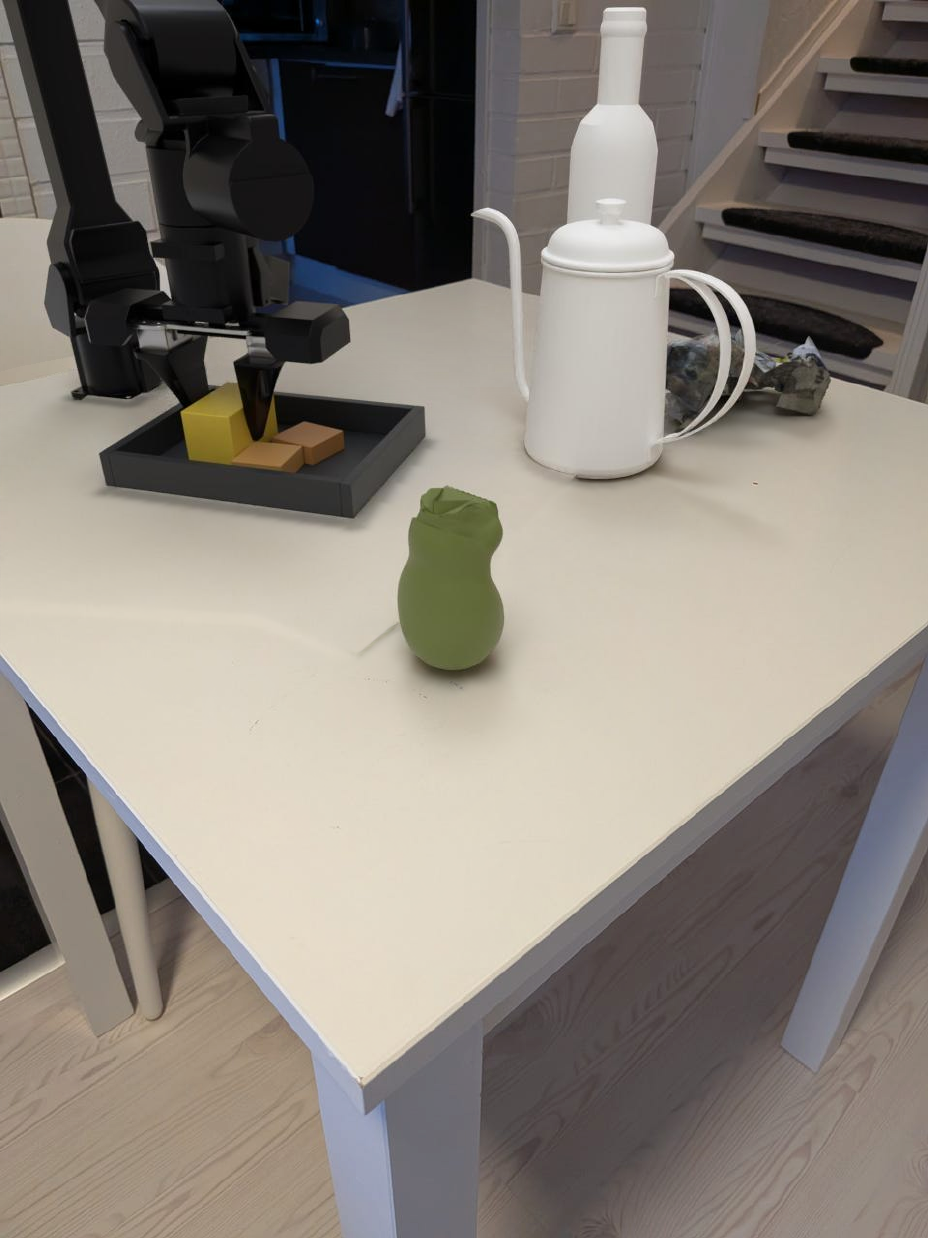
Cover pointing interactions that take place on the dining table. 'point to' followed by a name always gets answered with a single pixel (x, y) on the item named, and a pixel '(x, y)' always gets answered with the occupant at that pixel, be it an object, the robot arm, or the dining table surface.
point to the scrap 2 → (312, 441)
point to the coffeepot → (607, 344)
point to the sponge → (221, 426)
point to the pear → (451, 580)
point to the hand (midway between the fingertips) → (233, 436)
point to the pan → (325, 488)
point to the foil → (699, 365)
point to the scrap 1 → (271, 457)
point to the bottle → (616, 128)
